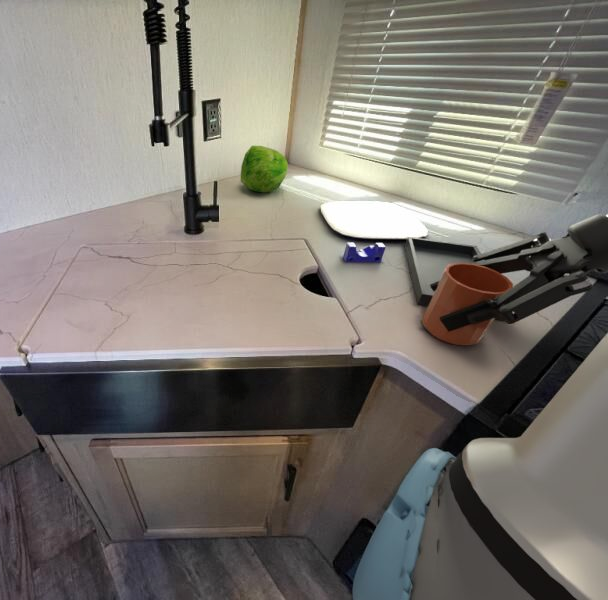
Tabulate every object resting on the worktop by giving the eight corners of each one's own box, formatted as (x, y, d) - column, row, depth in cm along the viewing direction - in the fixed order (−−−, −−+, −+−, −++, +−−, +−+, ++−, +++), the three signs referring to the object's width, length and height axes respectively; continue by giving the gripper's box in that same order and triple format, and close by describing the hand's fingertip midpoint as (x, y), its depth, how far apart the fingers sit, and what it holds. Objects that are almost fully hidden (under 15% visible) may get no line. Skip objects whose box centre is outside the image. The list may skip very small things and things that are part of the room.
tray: (505, 321, 63) (513, 309, 62) (417, 304, 67) (422, 293, 66) (471, 255, 83) (476, 245, 81) (404, 246, 87) (407, 236, 85)
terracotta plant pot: (492, 344, 58) (528, 290, 52) (445, 351, 57) (475, 296, 51) (452, 311, 66) (479, 260, 59) (409, 317, 64) (432, 265, 58)
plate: (396, 206, 108) (398, 201, 107) (437, 244, 87) (439, 238, 86) (313, 205, 108) (314, 200, 107) (335, 243, 88) (336, 236, 87)
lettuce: (277, 180, 128) (292, 144, 118) (275, 209, 114) (292, 170, 104) (239, 169, 128) (251, 131, 118) (232, 196, 114) (245, 156, 104)
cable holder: (374, 255, 83) (379, 239, 80) (380, 262, 80) (385, 247, 78) (341, 254, 83) (345, 239, 81) (345, 262, 80) (349, 246, 78)
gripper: (691, 302, 38) (464, 366, 52) (591, 224, 55) (438, 288, 69) (666, 252, 37) (438, 332, 50) (570, 187, 53) (418, 260, 67)
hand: (438, 306), depth 60 cm, fingers closed on terracotta plant pot, 9 cm apart
